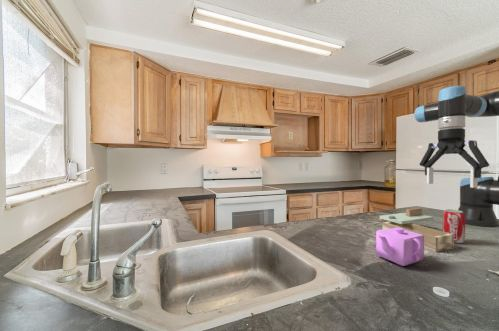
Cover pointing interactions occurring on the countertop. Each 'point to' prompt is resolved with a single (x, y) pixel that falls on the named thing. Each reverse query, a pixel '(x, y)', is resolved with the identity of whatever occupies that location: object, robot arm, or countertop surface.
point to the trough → (426, 235)
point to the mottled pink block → (400, 246)
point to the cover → (407, 216)
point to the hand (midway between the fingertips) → (450, 185)
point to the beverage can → (454, 224)
